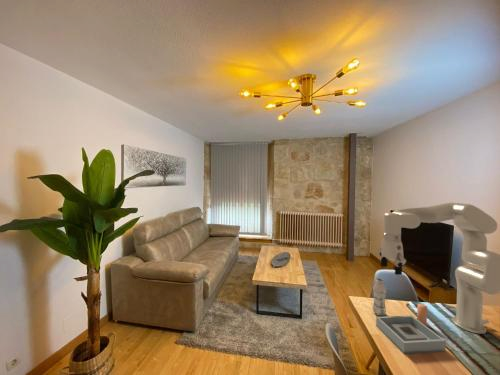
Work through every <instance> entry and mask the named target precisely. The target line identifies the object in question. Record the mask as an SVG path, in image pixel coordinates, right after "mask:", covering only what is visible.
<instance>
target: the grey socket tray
mask: <svg viewBox="0 0 500 375" xmlns="http://www.w3.org/2000/svg"><path fill="white" fill-rule="evenodd" d="M375 319H376V320H375V324H376V325H375V327H377V329H378V330H379V331H380V332H381V333H382V334H383V335H384V336H385V338H387V339H388V340H389V341H390V343H392V344H393V345H394V346H395V347H396V348H397V349H398V350H399V351H400V352H401V353H402V354H403V355H408V354H409V355H410V354H423V353H424V354H425V353H442V352H446V340H445V339H444V338H443V337H441V336H440V335H438V334H437V333H436V332H435V331H433V330H432V329H431V328H429V327H428V326H425V325H424V324H422V323H421V322H420V321H418V320H417V317H415V316H413V315H412V314H411V315H391V316H390V315H389V316H376V318H375Z"/></svg>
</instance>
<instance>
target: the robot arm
mask: <svg viewBox="0 0 500 375" xmlns="http://www.w3.org/2000/svg"><path fill="white" fill-rule="evenodd" d="M451 220H452V221H453V223H454V225H455V226H456V227H457V228H458V230H460V232H461V234H462V237H463V241H462V250H461V260H462V261H463V262H464V263H466V264H469V265H460V266H457V268H456V269H455V271H454V275H455V281H456V289H457V290H456V312H455V313H456V314H455V315H456V316H453V317H452V318H451V320H452V322H453V324H454V325H455V326H457V327H459V328H461V329H463V330H464V331H468V332H469V333H474V334H477V335H478V334H479V335H480V334H481V335H482V334H483V335H484V334H486V333H487V328H486V327H485V326H484V325H486V324H490V320H489V319H487V318H483V308H484V306H483V304H484V297H483V293H486V294H488V295H492V296H494V295H498V294H500V254H499V253H497V252H494V251H491V250H488V249H487V248H488V247H487V245H488V240H487V237H486V234H487V235H488V234H489V235H490V234H493V233H495V232H496V231H497V229H498V223H497V220H496V219H495V218H494V217H492V216H491V215H489V214H488V213H487V212H485V211H483V210H482V209H481V208H479V207H477V206H475V205H473V204H470V203H459V202H446V203H440V204H436V205H431V206H423V207H422V206H421V207H411V208H402V209H398V210H394V211H392V212H385V213H384V214H383V223H382V224H383V225H382V226H383V234H382V240H381V247H379V248H378V252H379V253H378V254H379V256H380V257H379V258H380V267H388V260H390V261H392V262H394V264H395V266H394V274H395V275H396V276H397V275H398V276H399V275H402V274H403V267H404V266H405V265H406V263H407V259H406V258H405V257H404V247H403V246H404V245H403V242H402V228H406V229H416V228H418V227H420V225H421V223H427V224H431V223H432V224H436V223H441V222H446V221H451ZM470 265H471V266H470ZM472 266H474V267H472ZM475 267H477V268H475ZM478 268H479V269H478ZM481 269H482V270H481ZM482 292H483V293H482Z"/></svg>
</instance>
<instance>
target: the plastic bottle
mask: <svg viewBox="0 0 500 375" xmlns="http://www.w3.org/2000/svg"><path fill="white" fill-rule="evenodd" d="M384 284H385V282H384V279H383V278H376V280H375V283H374V285H373V286H372V290H373V303H372V311H373V313H374V314H376V315H378V316H380V317H384V316H385V315H386V313H387V307H386V302H385V301H386V294H387V288H386V286H385V285H384Z"/></svg>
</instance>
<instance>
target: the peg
mask: <svg viewBox="0 0 500 375" xmlns="http://www.w3.org/2000/svg"><path fill="white" fill-rule="evenodd" d="M416 309H417V310H416V311H417V312H416V314H417V315H416V319H417V320H418V321H420V322H421V323H422V324H424V325H425V326H427V324H428V322H427V320H428V306H427V305H425V304H423V303H417V308H416ZM427 327H428V326H427Z"/></svg>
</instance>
